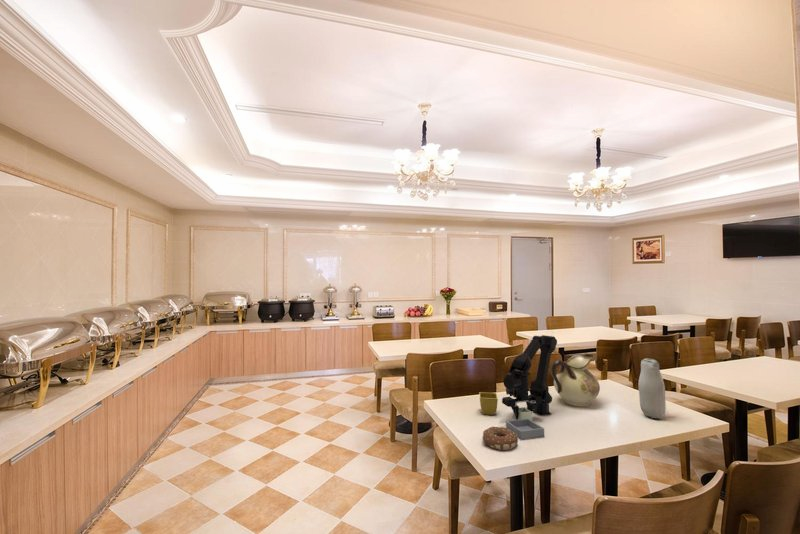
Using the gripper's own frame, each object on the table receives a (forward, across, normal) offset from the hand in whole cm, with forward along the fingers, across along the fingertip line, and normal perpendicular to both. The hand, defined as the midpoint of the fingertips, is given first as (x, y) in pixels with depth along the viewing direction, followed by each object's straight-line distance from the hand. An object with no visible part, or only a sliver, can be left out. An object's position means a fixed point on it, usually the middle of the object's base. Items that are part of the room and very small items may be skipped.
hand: (522, 418), depth 163 cm
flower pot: (+1, +11, -13) cm, 17 cm away
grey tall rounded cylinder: (+1, -63, +13) cm, 64 cm away
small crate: (+1, 0, 0) cm, 1 cm away
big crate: (+1, +7, +12) cm, 14 cm away
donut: (+2, +23, +18) cm, 29 cm away
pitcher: (+1, -42, -13) cm, 44 cm away
